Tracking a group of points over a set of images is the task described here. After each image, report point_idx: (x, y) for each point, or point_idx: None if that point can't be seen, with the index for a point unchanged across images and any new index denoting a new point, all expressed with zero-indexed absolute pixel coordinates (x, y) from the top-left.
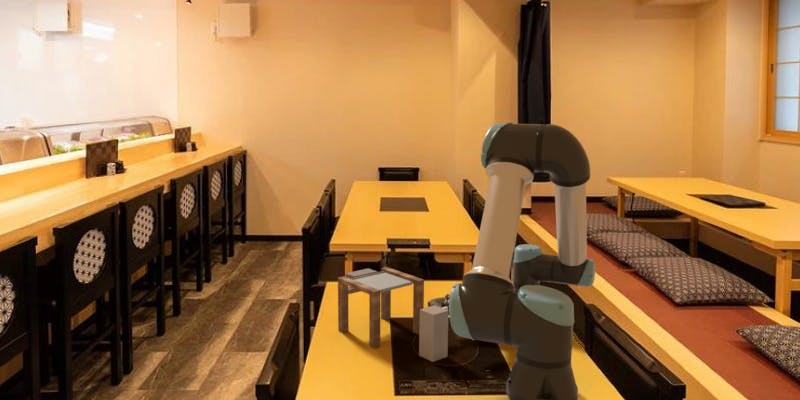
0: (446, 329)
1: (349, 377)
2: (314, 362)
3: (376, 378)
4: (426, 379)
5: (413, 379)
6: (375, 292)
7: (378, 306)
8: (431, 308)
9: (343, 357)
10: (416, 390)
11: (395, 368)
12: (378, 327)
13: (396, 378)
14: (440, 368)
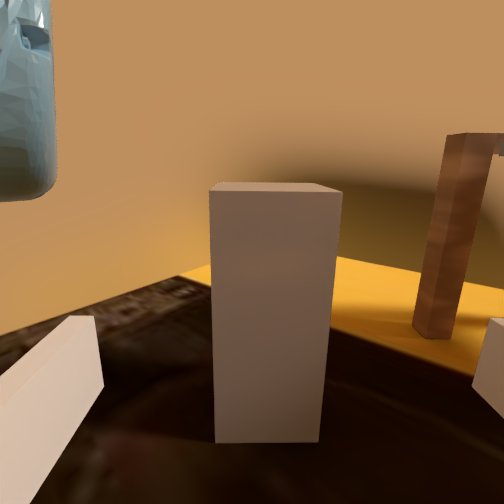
0: (213, 302)
1: None
2: (365, 263)
3: None
4: (160, 315)
5: (186, 304)
6: (450, 138)
7: (448, 196)
8: (297, 186)
9: (372, 283)
10: (149, 290)
11: None
12: (432, 272)
13: None
14: (166, 363)
